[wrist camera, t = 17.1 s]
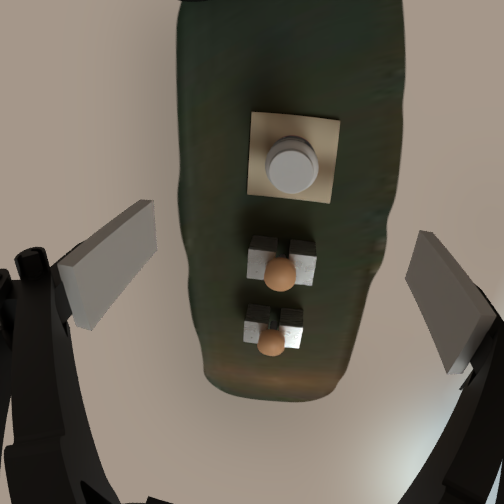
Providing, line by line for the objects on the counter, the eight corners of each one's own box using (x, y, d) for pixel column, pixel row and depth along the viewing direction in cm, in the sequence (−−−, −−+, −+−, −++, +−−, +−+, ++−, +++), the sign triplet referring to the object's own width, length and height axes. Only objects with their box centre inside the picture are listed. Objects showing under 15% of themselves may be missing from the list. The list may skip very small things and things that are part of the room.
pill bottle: (315, 179, 35) (320, 202, 27) (270, 178, 35) (262, 201, 28) (315, 134, 32) (321, 144, 24) (269, 134, 33) (260, 143, 25)
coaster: (252, 111, 32) (251, 111, 32) (339, 120, 31) (340, 121, 31) (247, 193, 37) (247, 194, 37) (329, 202, 36) (329, 203, 36)
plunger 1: (269, 242, 38) (265, 262, 34) (298, 246, 38) (297, 266, 33) (267, 267, 40) (262, 289, 35) (294, 270, 40) (293, 292, 35)
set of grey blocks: (253, 235, 39) (248, 249, 36) (315, 242, 39) (316, 256, 35) (247, 323, 46) (243, 341, 43) (299, 330, 46) (298, 348, 42)
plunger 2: (262, 312, 43) (258, 335, 39) (287, 315, 43) (285, 338, 39) (260, 330, 45) (256, 354, 41) (284, 333, 45) (282, 357, 40)
